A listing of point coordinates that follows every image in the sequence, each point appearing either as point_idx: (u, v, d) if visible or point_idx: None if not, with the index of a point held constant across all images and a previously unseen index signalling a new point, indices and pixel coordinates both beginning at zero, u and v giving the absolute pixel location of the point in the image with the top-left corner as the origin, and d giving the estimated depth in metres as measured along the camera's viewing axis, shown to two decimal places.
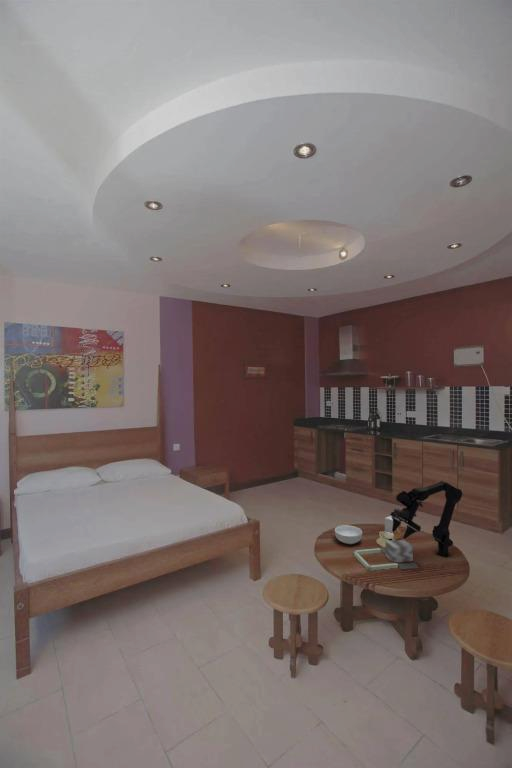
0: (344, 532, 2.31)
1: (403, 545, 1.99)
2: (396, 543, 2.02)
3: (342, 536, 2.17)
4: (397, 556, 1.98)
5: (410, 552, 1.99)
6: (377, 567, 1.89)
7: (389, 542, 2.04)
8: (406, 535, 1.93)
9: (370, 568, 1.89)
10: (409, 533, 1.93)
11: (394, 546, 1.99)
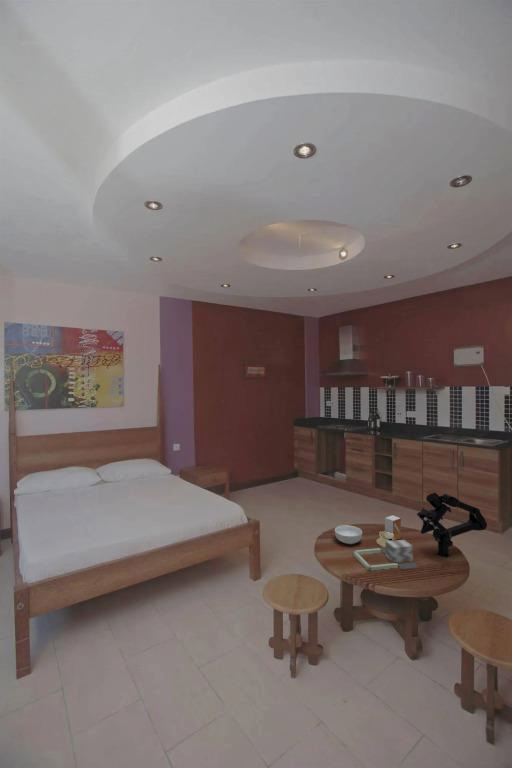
0: (344, 532, 2.31)
1: (403, 545, 1.99)
2: (396, 543, 2.02)
3: (342, 536, 2.17)
4: (397, 556, 1.98)
5: (410, 552, 1.99)
6: (377, 567, 1.89)
7: (389, 542, 2.04)
8: (424, 531, 2.04)
9: (370, 568, 1.89)
10: (427, 529, 2.04)
11: (394, 546, 1.99)
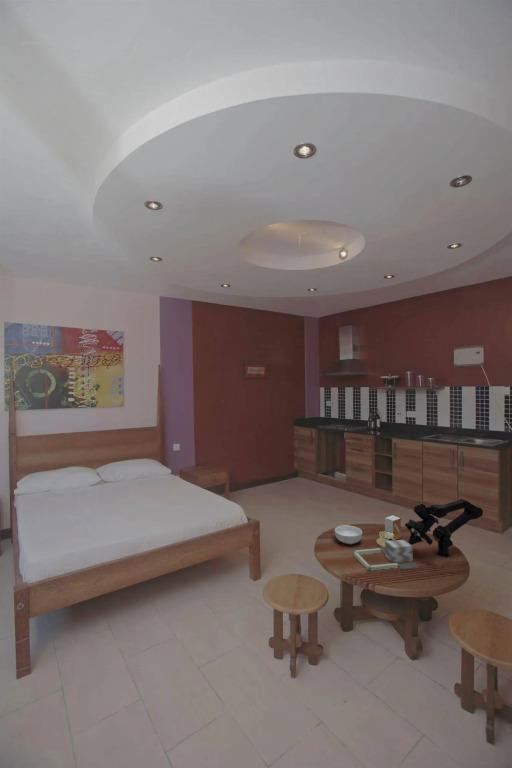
0: (344, 532, 2.31)
1: (403, 545, 1.99)
2: (396, 543, 2.02)
3: (342, 536, 2.17)
4: (397, 555, 1.98)
5: (410, 552, 1.99)
6: (377, 567, 1.89)
7: (389, 542, 2.04)
8: (411, 542, 2.03)
9: (370, 568, 1.89)
10: (415, 541, 2.02)
11: (393, 546, 1.99)
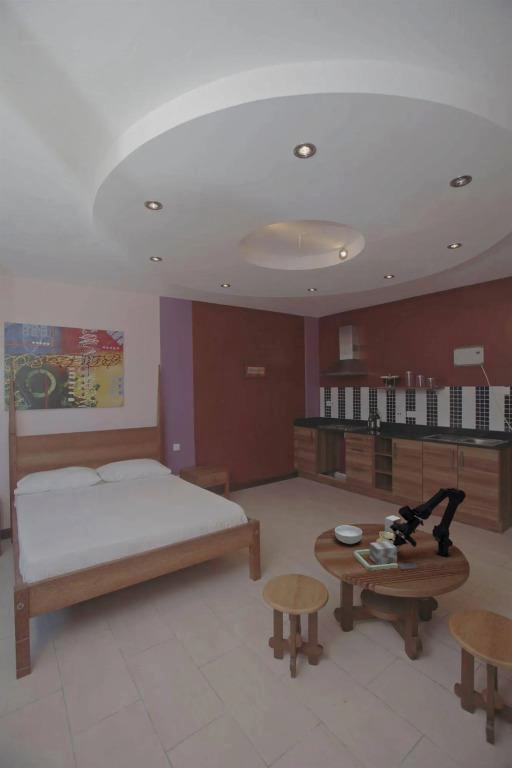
0: (344, 532, 2.31)
1: (388, 547, 1.97)
2: (381, 544, 2.00)
3: (342, 536, 2.17)
4: (381, 557, 1.96)
5: (394, 554, 1.97)
6: (377, 567, 1.89)
7: (373, 543, 2.02)
8: (396, 544, 2.01)
9: (370, 568, 1.89)
10: (399, 543, 2.01)
11: (378, 548, 1.97)
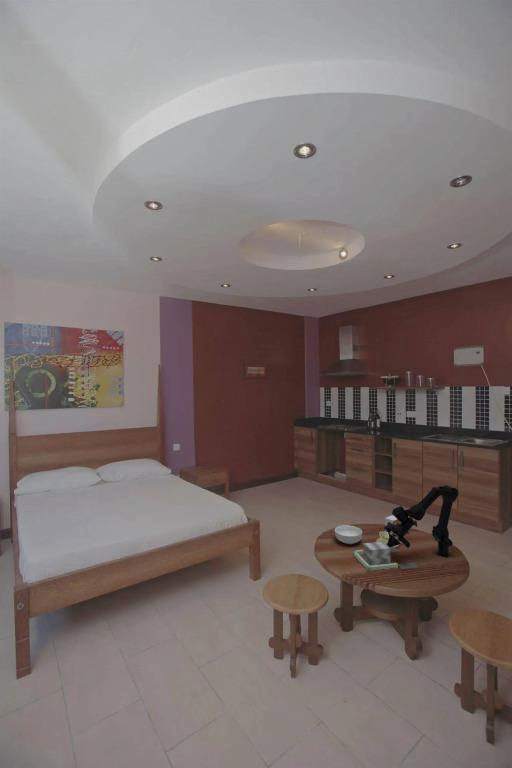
0: (344, 532, 2.31)
1: (381, 547, 1.97)
2: (374, 545, 2.00)
3: (342, 536, 2.17)
4: (375, 558, 1.95)
5: (388, 554, 1.97)
6: (377, 567, 1.89)
7: (367, 544, 2.01)
8: (390, 545, 2.00)
9: (370, 568, 1.89)
10: (393, 544, 2.00)
11: (371, 548, 1.96)
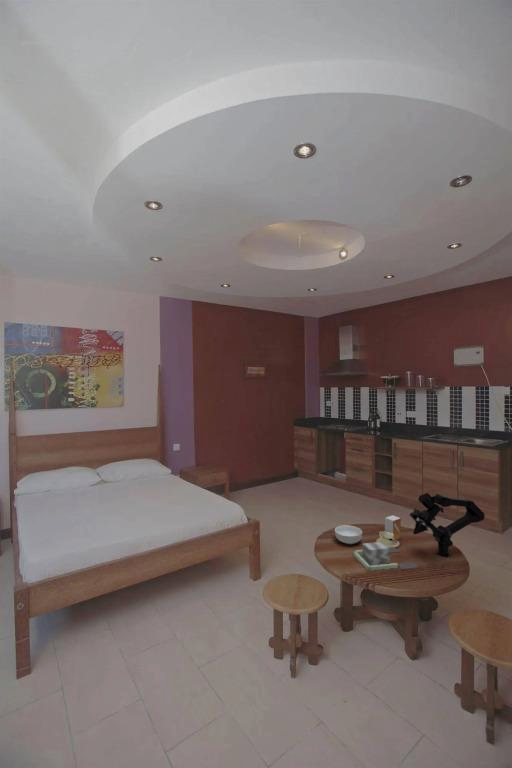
0: (344, 532, 2.31)
1: (380, 548, 1.97)
2: (373, 545, 2.00)
3: (342, 536, 2.17)
4: (374, 558, 1.95)
5: (387, 554, 1.96)
6: (377, 567, 1.89)
7: (366, 544, 2.01)
8: (417, 531, 2.03)
9: (370, 568, 1.89)
10: (420, 530, 2.03)
11: (370, 548, 1.96)
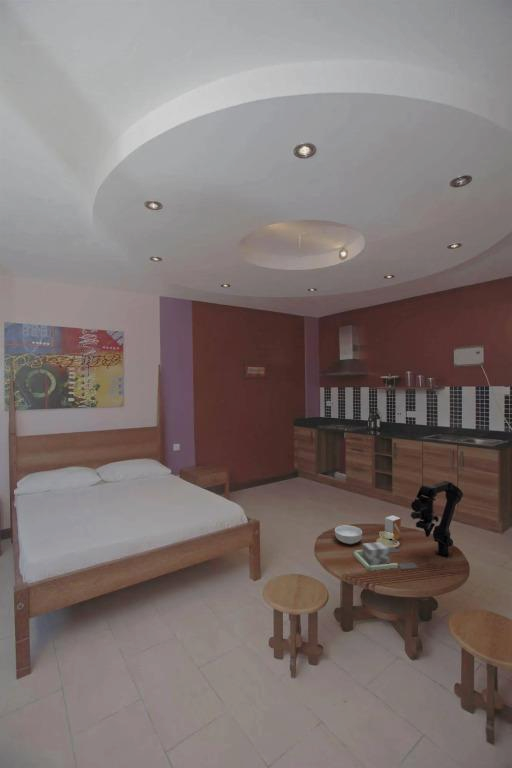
0: (344, 532, 2.31)
1: (380, 548, 1.97)
2: (373, 545, 2.00)
3: (342, 536, 2.17)
4: (373, 558, 1.95)
5: (387, 554, 1.96)
6: (377, 567, 1.89)
7: (366, 544, 2.01)
8: (426, 533, 2.00)
9: (370, 568, 1.89)
10: (427, 530, 1.99)
11: (370, 548, 1.96)
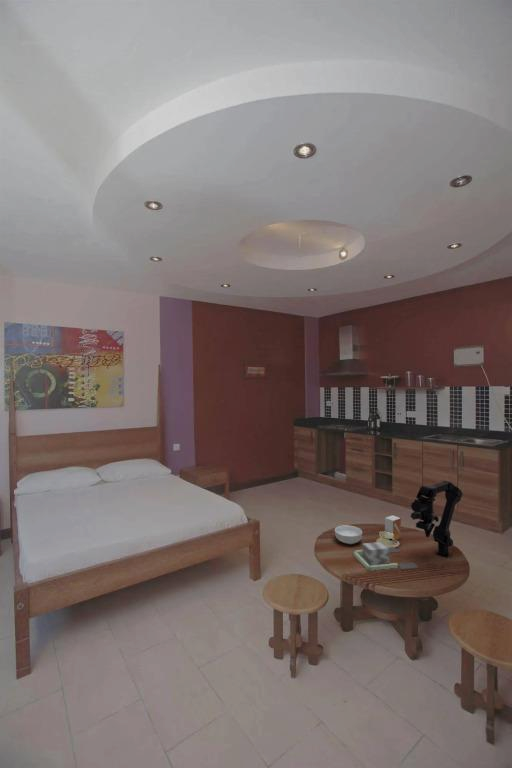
0: (344, 532, 2.31)
1: (380, 548, 1.97)
2: (373, 545, 2.00)
3: (342, 536, 2.17)
4: (373, 558, 1.95)
5: (387, 554, 1.96)
6: (377, 567, 1.89)
7: (366, 544, 2.01)
8: (426, 533, 1.99)
9: (370, 568, 1.89)
10: (427, 531, 1.99)
11: (370, 548, 1.96)
